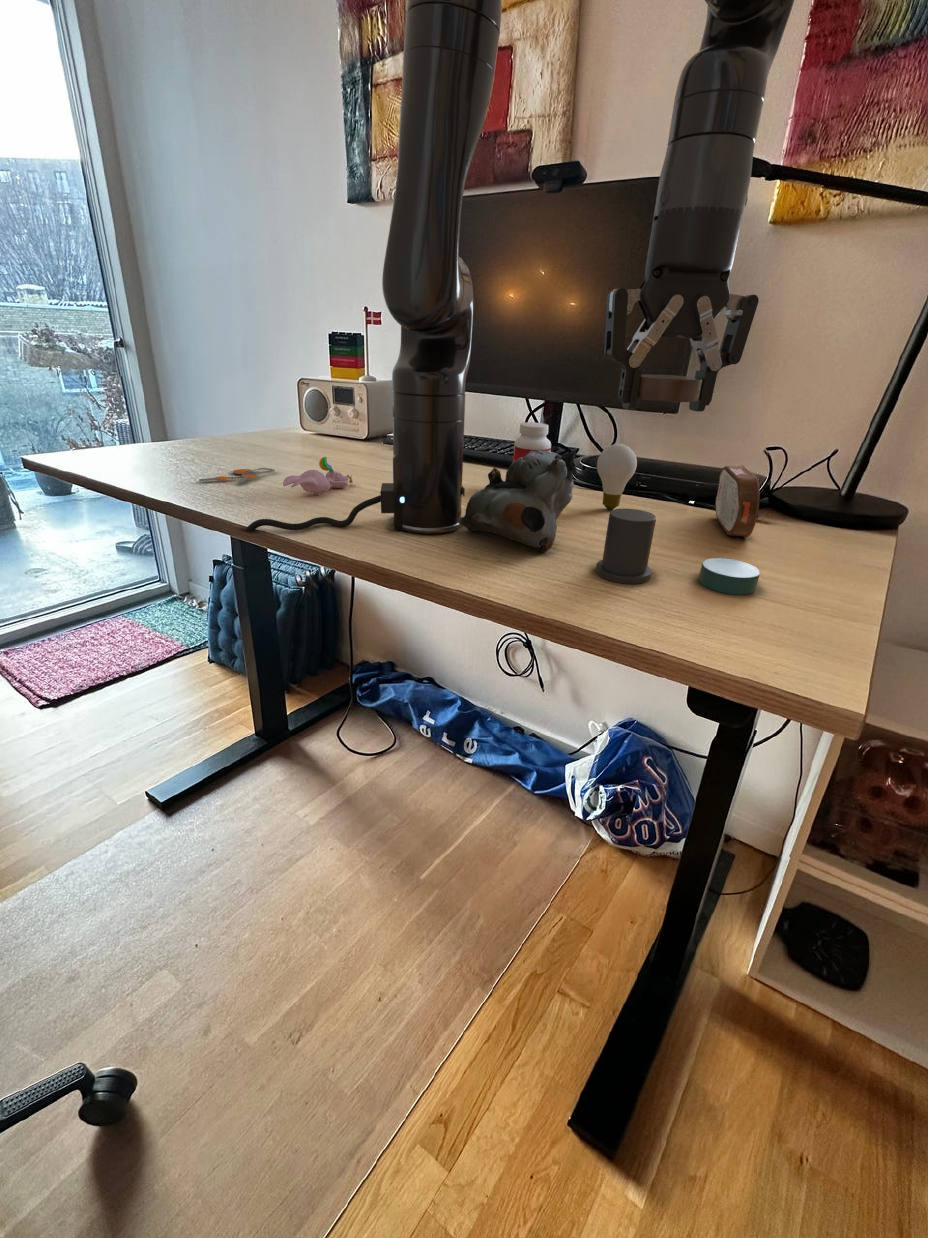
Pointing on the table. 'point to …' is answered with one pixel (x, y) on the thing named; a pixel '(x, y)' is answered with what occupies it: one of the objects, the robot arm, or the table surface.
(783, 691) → the table surface
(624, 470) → the light bulb
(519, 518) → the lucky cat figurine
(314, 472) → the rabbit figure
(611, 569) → the upturned cup
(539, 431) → the pill bottle
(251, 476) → the key chain
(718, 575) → the teal chip
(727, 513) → the tin
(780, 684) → the table surface
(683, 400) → the walnut chip
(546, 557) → the table surface
